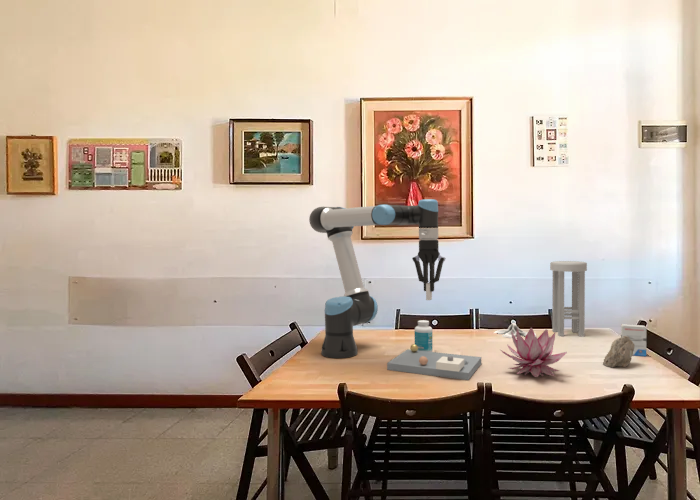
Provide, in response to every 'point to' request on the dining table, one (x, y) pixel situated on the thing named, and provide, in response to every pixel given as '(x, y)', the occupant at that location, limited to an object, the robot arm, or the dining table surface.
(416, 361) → the board
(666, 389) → the dining table surface
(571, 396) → the dining table surface
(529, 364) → the decorative flower
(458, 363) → the cover
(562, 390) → the dining table surface
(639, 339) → the ink box
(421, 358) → the clay ball
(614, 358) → the rock
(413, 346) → the brass ball
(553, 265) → the stool
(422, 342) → the pill bottle
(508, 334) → the cloth
